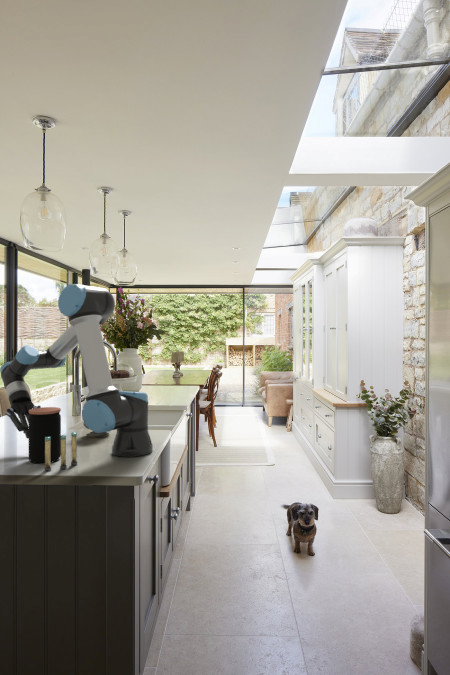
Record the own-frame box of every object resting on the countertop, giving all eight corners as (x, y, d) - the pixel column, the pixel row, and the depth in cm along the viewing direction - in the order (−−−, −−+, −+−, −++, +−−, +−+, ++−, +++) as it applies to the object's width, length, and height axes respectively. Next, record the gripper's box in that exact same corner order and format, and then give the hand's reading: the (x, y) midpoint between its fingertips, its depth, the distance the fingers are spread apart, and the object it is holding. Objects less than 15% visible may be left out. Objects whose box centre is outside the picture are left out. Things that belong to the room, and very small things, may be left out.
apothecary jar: (105, 431, 203) (105, 392, 203) (115, 435, 193) (115, 395, 193) (79, 434, 196) (79, 394, 196) (89, 439, 186) (89, 397, 186)
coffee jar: (44, 454, 162) (44, 406, 162) (67, 457, 158) (67, 408, 158) (21, 462, 152) (21, 410, 152) (45, 465, 148) (45, 412, 148)
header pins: (43, 470, 142) (43, 436, 142) (75, 463, 150) (75, 431, 150) (48, 473, 140) (48, 438, 140) (80, 466, 147) (80, 433, 147)
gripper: (32, 399, 180) (49, 447, 168) (-2, 402, 171) (13, 453, 159) (37, 387, 176) (55, 435, 164) (3, 390, 167) (19, 441, 155)
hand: (34, 444), depth 161 cm, fingers closed
